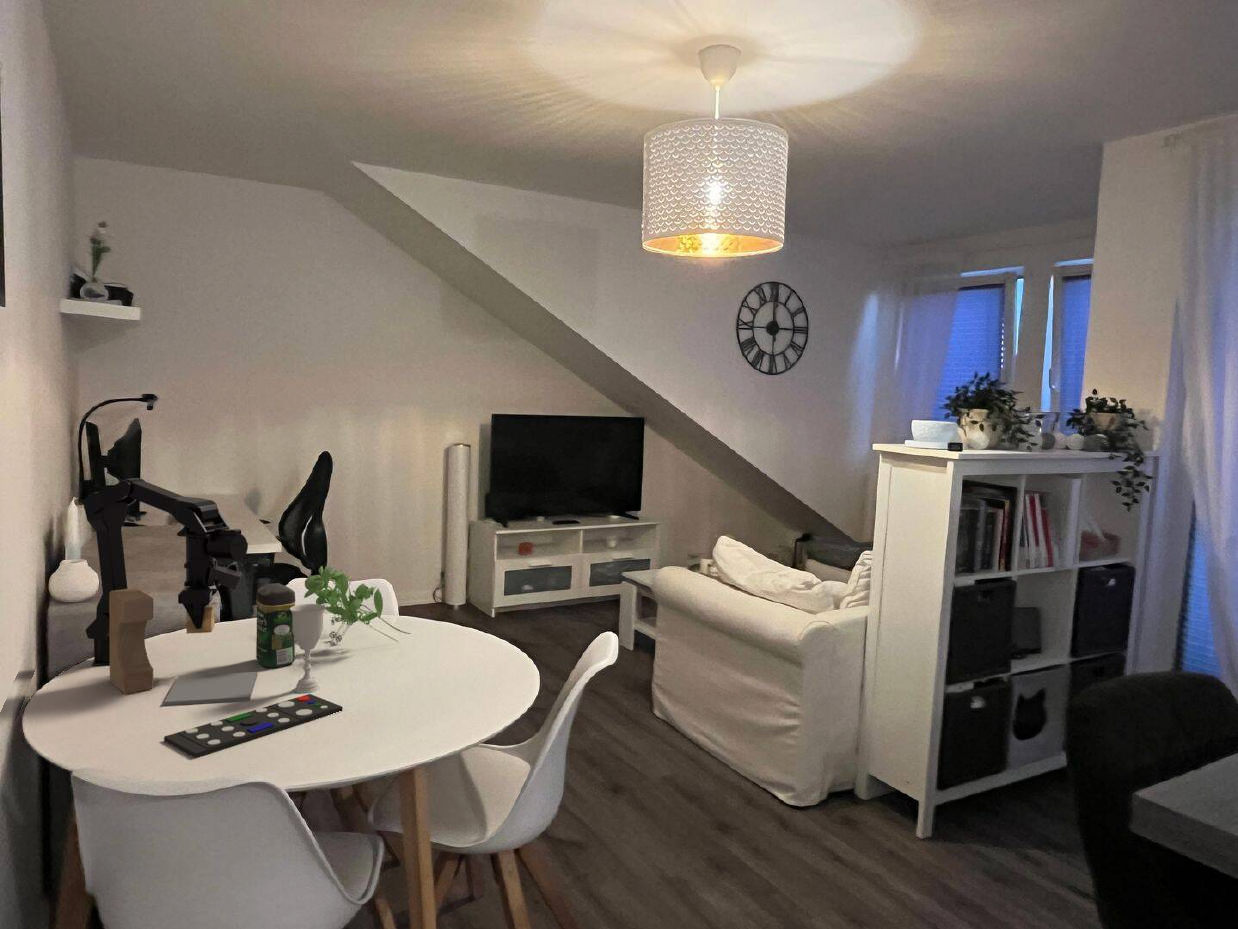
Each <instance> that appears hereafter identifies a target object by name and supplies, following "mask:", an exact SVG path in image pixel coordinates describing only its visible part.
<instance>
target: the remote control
mask: <svg viewBox="0 0 1238 929" xmlns="http://www.w3.org/2000/svg"><path fill="white" fill-rule="evenodd" d="M339 711H341V712H343V706H341V705H339V704H336V703H334V702H332V701H329V700H326V699H324V698H321V697H320V696H317V695H313V694H312V693H307V694H304V695H301V696H297V697H294V698H291V699H287V700H283V701H280V702H278V703H274V704H270V705H267V706H263V707H260V708H256V709H254V710H251V711H250V710H249V711H247V712H243V713H240V714H236V715H233V716H230V717H225V718H223V719H219V720H217V721H216V720H215V721H213V722H208V723H205V724H202V725H199V726H196V727H195V726H194V727H192V728H188V729H185V730H182V731H179V732H175V733H172V734H169V735H164V737H163V741H164V743H167V744H169V745H170V746H173V747H174V748H176V749H178V750H179V751H181V752H183V753H185V754H187V755H188V756H190V757H192V758H194V759H199V758H201V757H204V756H208V755H211V754H214V753H217V752H220V751H223V750H226V749H230V748H232V747H235V746H239V745H242V744H245V743H248V742H252V741H254V740H257V739H260V738H264V737H267V736H269V735H272V734H276V733H279V732H283V731H285V730H286V731H287V730H289V729H291V728H294V727H297V726H301V725H304V724H306V723H309V722H313V721H316V719H317V720H319V718H320V719H323V718H326V717H329V716H331V714H332V715H334V714H333V713H335V714H337V713H336V712H338V713H340V712H339ZM328 715H329V716H328Z"/></svg>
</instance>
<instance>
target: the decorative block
mask: <svg viewBox="0 0 1238 929" xmlns="http://www.w3.org/2000/svg"><path fill="white" fill-rule="evenodd" d="M109 619H110V664H109V681H110V682H111V683H112V684H113V685H114V686H116V688H118V689H119V690H120V691H121V692H123V694H125V695H130V694H131V693H132V694H135V693H141V691H142V692H147V691H151V690H150V689H154V667H153V666H152V664H151V663H150V660H149V657H148V654H147V649H146V640H145V636H146V635H145V634H146V627H147V624H148V621H152V620H153V619H154V598H153V597H152V596H150V595H149V594H147V593H145V592H143V591H142V590H140V589H138V588H136V587H132V588H128V589H123V590H114V591H111V592H110V593H109ZM146 690H147V691H146Z"/></svg>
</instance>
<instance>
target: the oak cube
mask: <svg viewBox="0 0 1238 929" xmlns="http://www.w3.org/2000/svg"><path fill="white" fill-rule="evenodd" d="M185 613H186V616H185V618H186V620H185V621H186V623H185V624H186V634H205V633H206V634H207V633H212V631H213V630H214V628H215V604H209V605H206V607H205V613H204V618H203V623H202V628H201V629H196V628H195V626H194V624H193V622H192V620H191V618H190V616H189V614H188V612H187V611H186V612H185Z"/></svg>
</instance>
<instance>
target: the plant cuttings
mask: <svg viewBox="0 0 1238 929" xmlns="http://www.w3.org/2000/svg"><path fill="white" fill-rule="evenodd" d="M332 570H333V571H332ZM318 572H319V574H315V575H311V576H308V577H307V578H306V579H305V580H304V587H305V589H306V590H307V591H306V592H305V594H304V596H303V599H306V598H309V597H310V596H312V595H314V594H315V595H316V596H317V598H316V599H315V604H320V605H324V606H326V608H325V611H327V612H329V613H331V614H332V615H334V616H333V617H331V619H330V622H331V625H332V626H334V625H335V624H336V623H340V622H341V625H340V627H339V628H338V629H337V631H334V630H332V631H330V633H329V635H328V636H329V638H330V639H331V640H332V643H333V644H338V643H339V642H342V640H343V636H345V634H346V633H347V631H348V629H349V628H350V627H351V626H352V625H353V624H355V623H357V622H358V621H359V622H360V623H362V624H364V625H366V626H367V627H370V628H371V629H374V630H375V631H377V632H378V633H380V634H383V635H384V636H386V637H387V638H390V639H391V640H393V641H395V642H397V643H399V641H398V640H397V639H395V638H393V637H391V636H389V635H387V634H385V633H384V632H381V631H379V630H378V629H376V628H373V626H372V625H370V623H371V620H374V619H375V618H378V619H381V621H383V622H384V623H385V624H387V625H388V626H390V627H391V629H394V630H396V631H398V632H400V633H403V634H407V635H410V634H411V632H407V631H403V630H401V629H398V628H396V627H395V626H393V625H392V624H390V623H389V622H388V621H386V620H385V619H384V618H382V617H381V616H382V612H383V607H384V600H383V596H382V593H381V591H380V588H378V587H377V586H375V587H374V586H371V587H368V586H367V585H366V584H365V583H360V585H358V586H357V588H356V589H355V590H352V592H353V593H354V595H353V594H352V593H351V589H350V585H351V582H353V581H354V580H353V578H352V576H351V575H349V576H347V575H346V574H345V573H343V569H340V570H339V569H338V570H336V569H333V568H332V567H331V566H329V567H326V568H325V569H324V567H323V565H321V566H320V567H319V568H318ZM348 579H349V580H348ZM330 580H331V581H332V584H333V585H335V586H334V587H333V588H332V587H330V586H329V582H330ZM376 588H377V589H376ZM375 589H376V590H375ZM347 592H348V593H349V594H348V596H347ZM372 597H373V606H374V608H375V611H376V612H374V611H373V610H372V609H370V608H369V607H368V606H366V605H365V604H363V602H364V600H365V601H367V600H368V599H369V598H372ZM327 604H328V605H330V606H328V605H327ZM361 607H364V608H366V609H368V611H366V610H364V609H362V608H361ZM358 614H359V615H358ZM363 614H365V615H363ZM336 616H337V617H336ZM344 625H345V626H346V628H345V630H344V631H343V632H342V634H340V633H339V632H340V631H341V630H342V628H343V627H344ZM334 640H335V642H334Z"/></svg>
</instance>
